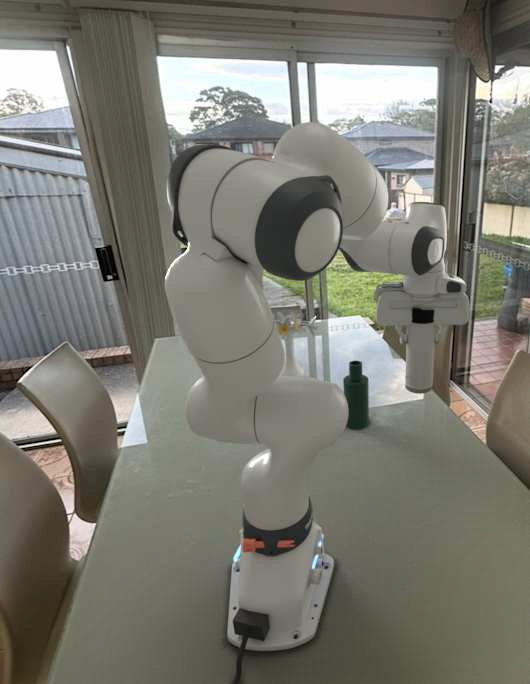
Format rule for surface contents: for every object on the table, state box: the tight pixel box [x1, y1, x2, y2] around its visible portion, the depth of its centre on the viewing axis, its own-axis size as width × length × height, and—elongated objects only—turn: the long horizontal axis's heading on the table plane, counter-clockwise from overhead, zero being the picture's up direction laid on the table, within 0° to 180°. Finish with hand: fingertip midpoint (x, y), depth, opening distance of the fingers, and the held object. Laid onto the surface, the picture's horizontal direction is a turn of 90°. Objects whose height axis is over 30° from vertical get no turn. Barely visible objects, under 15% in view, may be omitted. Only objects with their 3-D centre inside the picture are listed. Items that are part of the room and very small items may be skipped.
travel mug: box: [404, 308, 437, 395], centre depth 98 cm, size 6×7×20 cm
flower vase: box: [273, 310, 319, 377], centre depth 150 cm, size 13×18×25 cm
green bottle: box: [342, 360, 370, 430], centre depth 125 cm, size 7×7×19 cm
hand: (420, 342), depth 98 cm, fingers closed on travel mug, 6 cm apart
